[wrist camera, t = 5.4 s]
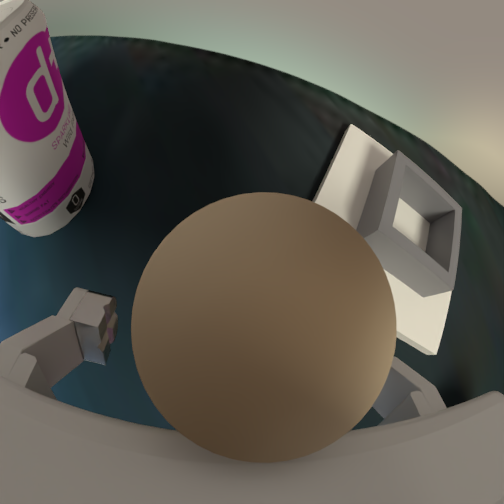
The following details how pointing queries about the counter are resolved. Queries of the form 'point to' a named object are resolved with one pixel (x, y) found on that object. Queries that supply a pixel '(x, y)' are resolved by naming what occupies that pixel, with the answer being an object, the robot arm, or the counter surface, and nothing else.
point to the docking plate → (399, 230)
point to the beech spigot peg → (263, 327)
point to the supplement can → (37, 129)
